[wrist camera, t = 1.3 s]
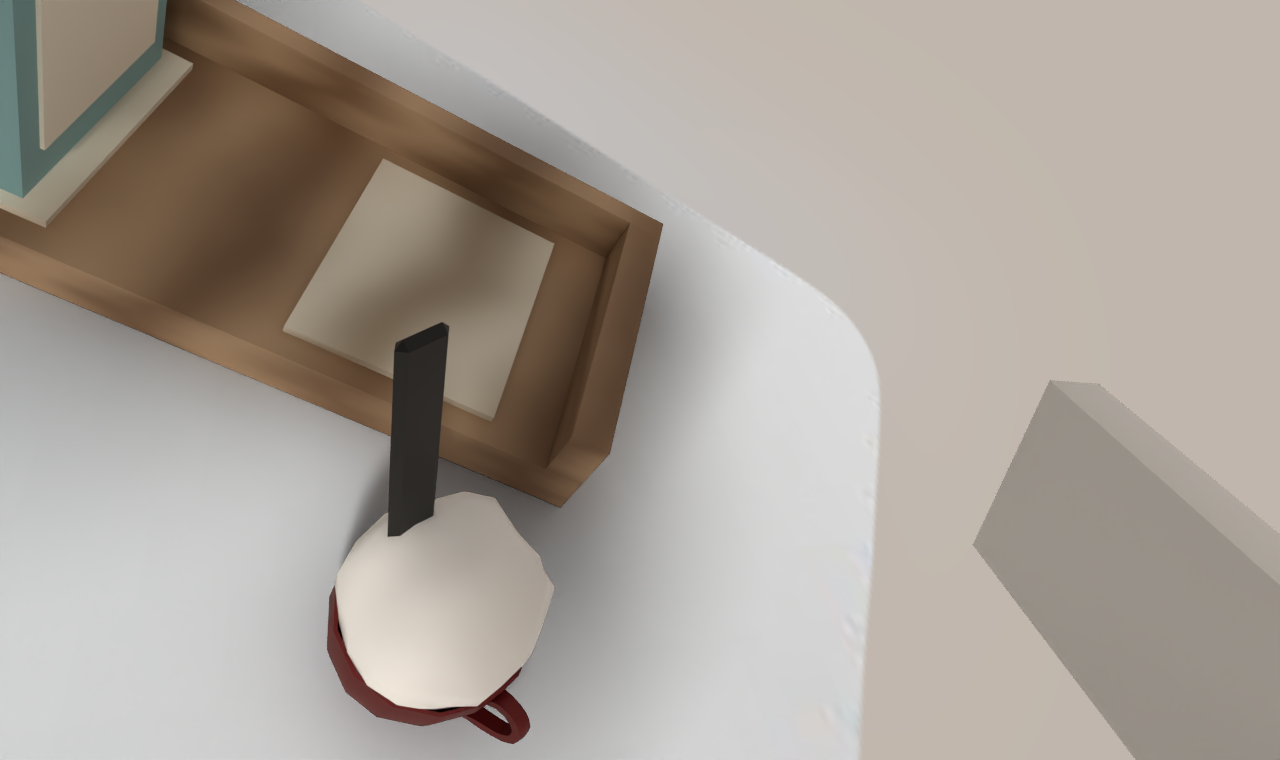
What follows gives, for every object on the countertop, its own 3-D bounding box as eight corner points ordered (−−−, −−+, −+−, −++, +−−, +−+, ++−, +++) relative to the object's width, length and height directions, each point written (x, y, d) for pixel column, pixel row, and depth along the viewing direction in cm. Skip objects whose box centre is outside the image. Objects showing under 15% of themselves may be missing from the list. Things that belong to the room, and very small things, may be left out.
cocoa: (521, 746, 31) (723, 645, 22) (334, 811, 27) (490, 719, 18) (447, 488, 34) (596, 314, 25) (272, 514, 30) (378, 319, 22)
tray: (-307, 144, 28) (-356, 27, 25) (-37, -42, 37) (-47, -147, 33) (560, 507, 36) (609, 453, 33) (619, 284, 44) (663, 223, 41)
